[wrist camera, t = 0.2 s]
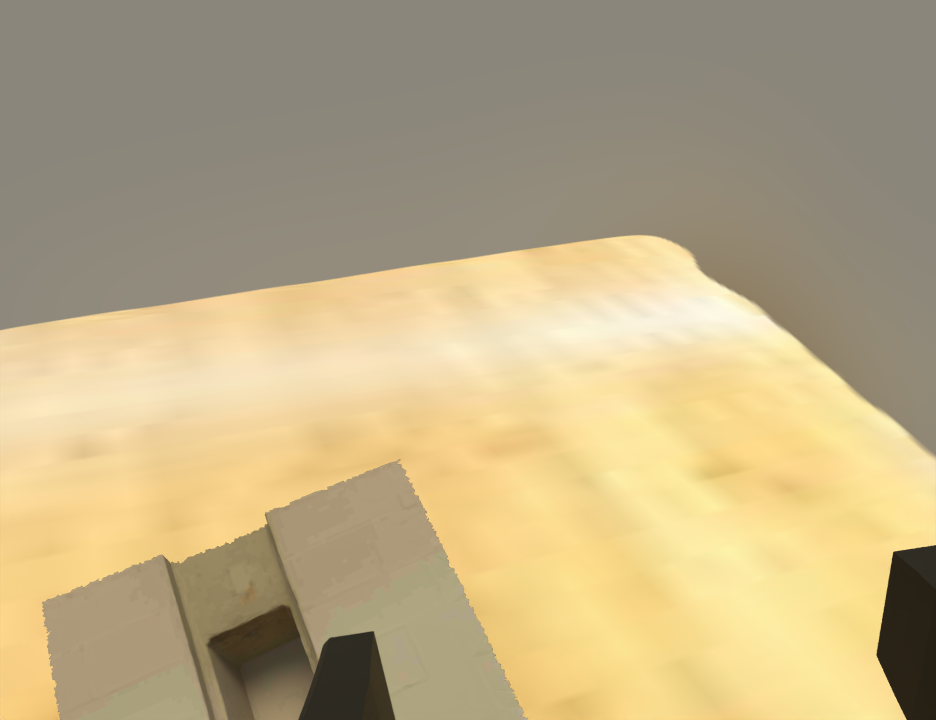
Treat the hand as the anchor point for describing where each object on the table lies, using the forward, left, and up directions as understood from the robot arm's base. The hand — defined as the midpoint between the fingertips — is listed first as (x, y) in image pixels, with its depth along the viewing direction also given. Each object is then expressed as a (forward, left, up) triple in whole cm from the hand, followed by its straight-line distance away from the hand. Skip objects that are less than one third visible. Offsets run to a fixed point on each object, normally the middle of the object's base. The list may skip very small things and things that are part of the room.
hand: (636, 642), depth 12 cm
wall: (+15, +9, -22) cm, 28 cm away
